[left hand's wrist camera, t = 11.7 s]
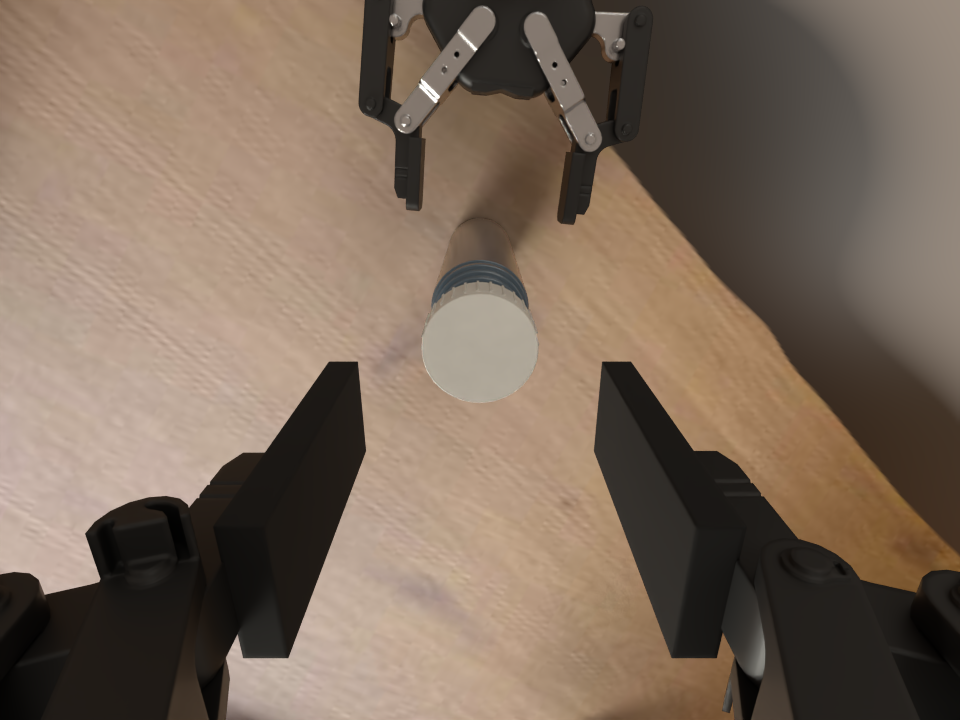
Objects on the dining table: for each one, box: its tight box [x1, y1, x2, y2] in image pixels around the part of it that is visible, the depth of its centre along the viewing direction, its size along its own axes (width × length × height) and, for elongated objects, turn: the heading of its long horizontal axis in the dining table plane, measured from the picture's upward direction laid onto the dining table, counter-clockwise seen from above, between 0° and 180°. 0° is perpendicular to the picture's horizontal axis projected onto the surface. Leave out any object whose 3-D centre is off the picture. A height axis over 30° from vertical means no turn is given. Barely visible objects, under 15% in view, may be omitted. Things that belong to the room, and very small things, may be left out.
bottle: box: [431, 218, 529, 309], centre depth 28 cm, size 4×4×19 cm
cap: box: [421, 281, 539, 403], centre depth 19 cm, size 4×4×2 cm
